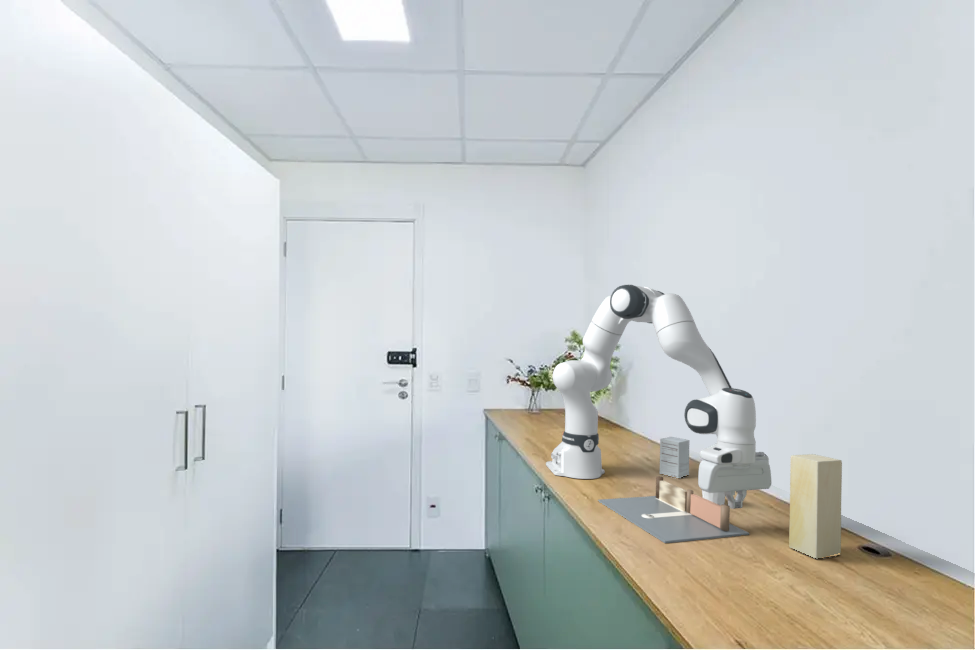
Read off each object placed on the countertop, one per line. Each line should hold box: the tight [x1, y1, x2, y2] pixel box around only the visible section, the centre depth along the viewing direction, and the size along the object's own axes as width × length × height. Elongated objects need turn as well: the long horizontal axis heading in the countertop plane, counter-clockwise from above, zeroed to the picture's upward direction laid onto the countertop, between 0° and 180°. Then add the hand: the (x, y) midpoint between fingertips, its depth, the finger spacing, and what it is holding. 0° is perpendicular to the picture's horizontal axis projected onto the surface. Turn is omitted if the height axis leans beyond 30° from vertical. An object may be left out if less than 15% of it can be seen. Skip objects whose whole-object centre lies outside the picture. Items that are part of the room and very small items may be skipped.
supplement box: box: [659, 436, 690, 479], centre depth 175 cm, size 7×7×13 cm
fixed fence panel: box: [655, 475, 687, 511], centre depth 141 cm, size 13×2×6 cm, turn 17°
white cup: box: [701, 490, 726, 506], centre depth 145 cm, size 7×7×7 cm
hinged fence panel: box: [686, 489, 731, 531], centre depth 128 cm, size 14×2×6 cm, turn 17°
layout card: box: [597, 495, 750, 544], centre depth 132 cm, size 30×24×1 cm
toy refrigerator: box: [788, 453, 843, 560], centre depth 113 cm, size 8×7×21 cm
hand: (735, 507), depth 127 cm, fingers closed
